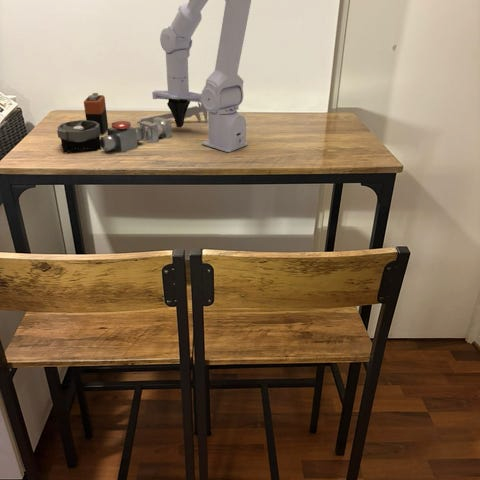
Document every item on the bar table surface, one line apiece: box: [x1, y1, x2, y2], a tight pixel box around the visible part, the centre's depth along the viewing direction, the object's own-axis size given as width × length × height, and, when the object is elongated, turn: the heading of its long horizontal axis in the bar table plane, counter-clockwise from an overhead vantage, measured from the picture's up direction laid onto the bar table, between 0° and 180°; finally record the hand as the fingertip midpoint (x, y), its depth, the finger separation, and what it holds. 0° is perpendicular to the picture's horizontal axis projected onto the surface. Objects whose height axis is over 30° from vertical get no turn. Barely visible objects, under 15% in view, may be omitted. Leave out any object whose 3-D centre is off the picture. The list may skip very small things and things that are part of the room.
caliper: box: [136, 102, 208, 124], centre depth 143 cm, size 21×1×6 cm, turn 96°
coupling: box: [138, 117, 172, 144], centre depth 130 cm, size 7×5×5 cm, turn 143°
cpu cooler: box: [56, 119, 102, 154], centre depth 123 cm, size 10×6×10 cm
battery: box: [83, 92, 109, 135], centre depth 133 cm, size 4×7×10 cm, turn 3°
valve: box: [100, 120, 144, 153], centre depth 123 cm, size 11×5×6 cm, turn 140°
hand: (179, 126), depth 137 cm, fingers closed
